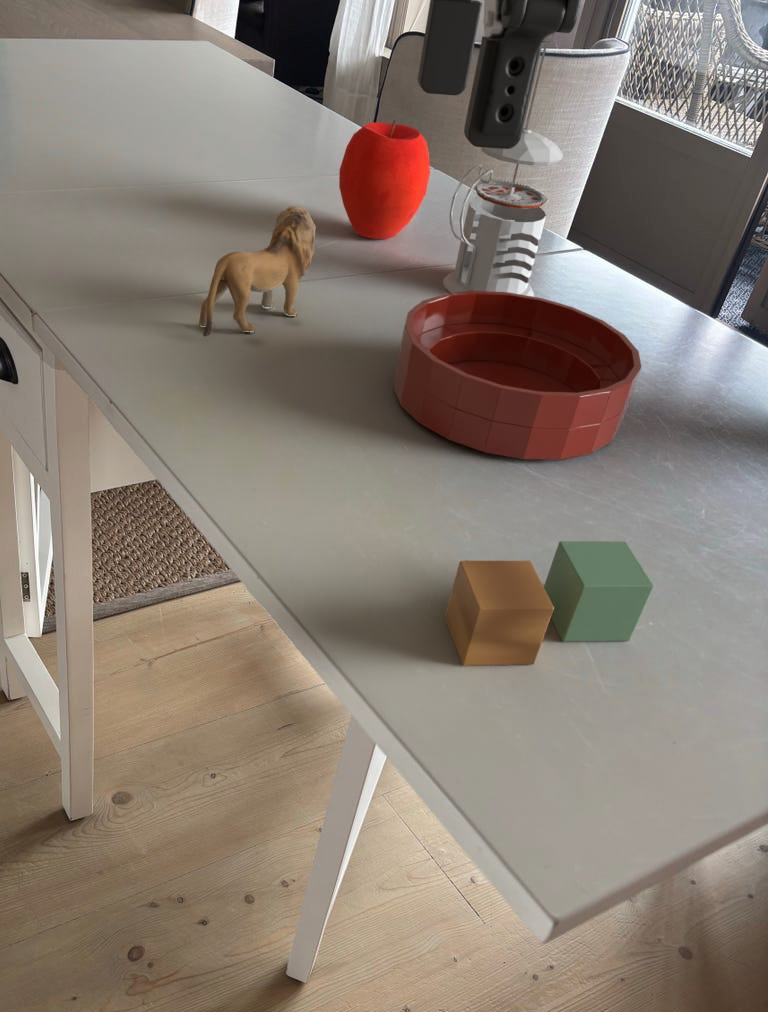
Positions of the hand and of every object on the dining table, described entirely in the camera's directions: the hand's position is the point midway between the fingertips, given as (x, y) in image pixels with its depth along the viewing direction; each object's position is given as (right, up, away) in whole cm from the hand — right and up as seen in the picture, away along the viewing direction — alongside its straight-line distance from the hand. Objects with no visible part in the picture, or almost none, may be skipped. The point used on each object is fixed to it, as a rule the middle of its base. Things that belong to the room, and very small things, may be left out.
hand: (463, 116), depth 43 cm
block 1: (+5, -23, +17) cm, 29 cm away
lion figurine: (-11, +8, +50) cm, 51 cm away
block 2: (+11, -22, +20) cm, 31 cm away
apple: (+2, +23, +69) cm, 73 cm away
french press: (+13, +14, +60) cm, 63 cm away
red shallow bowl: (+11, -3, +41) cm, 42 cm away
